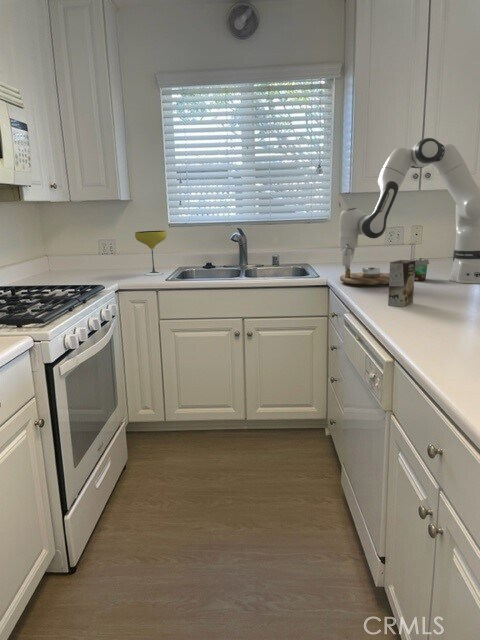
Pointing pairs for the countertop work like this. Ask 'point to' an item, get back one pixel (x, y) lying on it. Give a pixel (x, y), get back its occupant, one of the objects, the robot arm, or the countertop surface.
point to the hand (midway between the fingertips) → (347, 272)
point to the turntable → (358, 279)
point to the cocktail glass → (151, 240)
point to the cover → (371, 272)
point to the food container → (421, 269)
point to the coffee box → (401, 283)
